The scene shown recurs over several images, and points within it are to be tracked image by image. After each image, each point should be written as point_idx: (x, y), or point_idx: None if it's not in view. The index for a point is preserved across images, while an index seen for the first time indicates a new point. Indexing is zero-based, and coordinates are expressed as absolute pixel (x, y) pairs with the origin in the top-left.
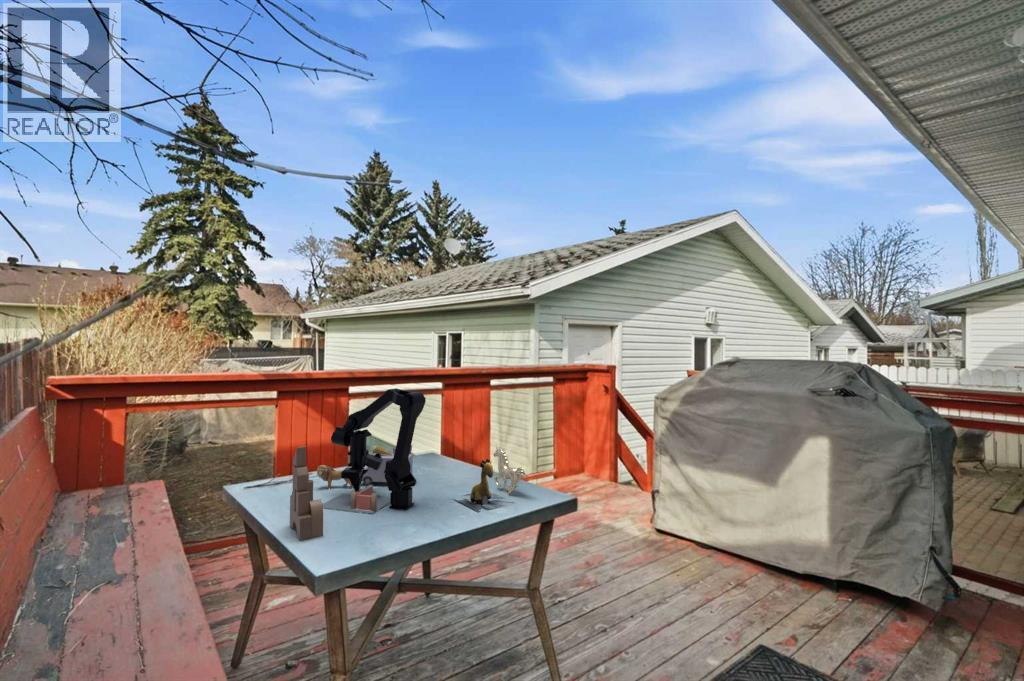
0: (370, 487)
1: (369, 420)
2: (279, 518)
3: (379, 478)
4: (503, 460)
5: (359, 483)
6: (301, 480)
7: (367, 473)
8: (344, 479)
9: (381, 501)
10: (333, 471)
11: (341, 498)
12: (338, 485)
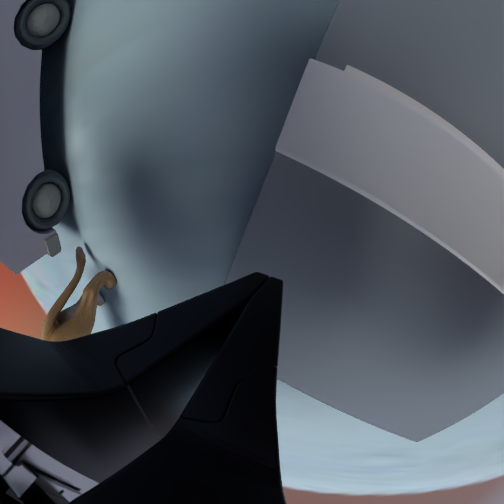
0: (425, 120)
1: None
2: (452, 477)
3: (20, 131)
4: None
5: (274, 368)
6: None
7: (8, 224)
8: (89, 334)
9: (483, 7)
10: None
11: (311, 360)
12: (103, 316)
